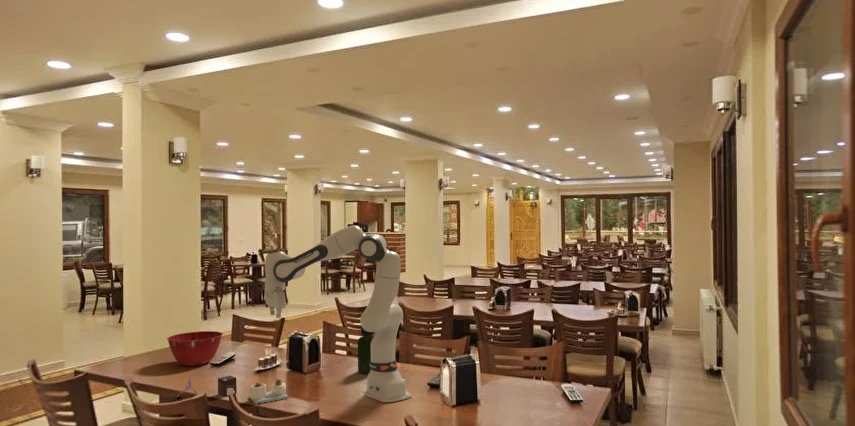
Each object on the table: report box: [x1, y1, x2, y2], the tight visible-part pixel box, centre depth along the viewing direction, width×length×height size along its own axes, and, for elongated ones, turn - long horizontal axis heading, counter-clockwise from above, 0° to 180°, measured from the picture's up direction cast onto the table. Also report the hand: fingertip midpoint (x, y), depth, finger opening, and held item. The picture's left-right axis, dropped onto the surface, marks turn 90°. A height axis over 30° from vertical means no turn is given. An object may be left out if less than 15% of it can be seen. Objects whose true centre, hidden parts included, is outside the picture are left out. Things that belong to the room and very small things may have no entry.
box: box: [217, 375, 237, 397], centre depth 247 cm, size 6×6×7 cm
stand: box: [248, 378, 289, 405], centre depth 240 cm, size 11×15×7 cm
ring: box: [250, 383, 267, 400], centre depth 237 cm, size 6×6×5 cm
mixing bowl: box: [166, 330, 223, 367], centre depth 304 cm, size 28×28×15 cm
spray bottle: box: [357, 325, 375, 375], centre depth 281 cm, size 10×10×25 cm
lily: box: [176, 373, 199, 398], centre depth 245 cm, size 12×12×10 cm
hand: (275, 316), depth 251 cm, fingers open, 8 cm apart
